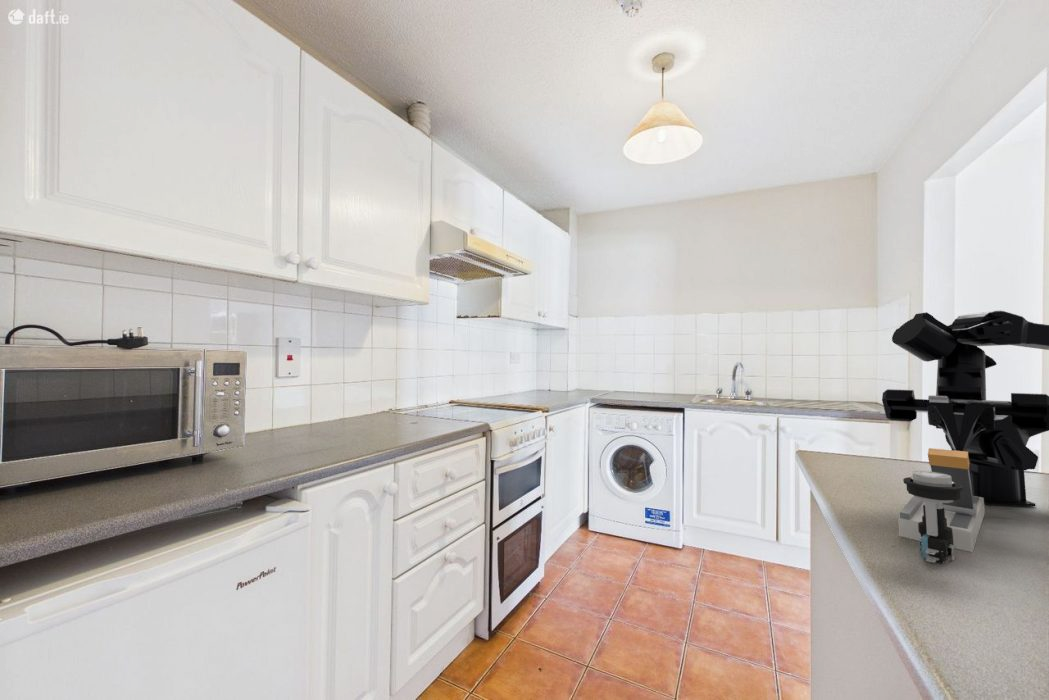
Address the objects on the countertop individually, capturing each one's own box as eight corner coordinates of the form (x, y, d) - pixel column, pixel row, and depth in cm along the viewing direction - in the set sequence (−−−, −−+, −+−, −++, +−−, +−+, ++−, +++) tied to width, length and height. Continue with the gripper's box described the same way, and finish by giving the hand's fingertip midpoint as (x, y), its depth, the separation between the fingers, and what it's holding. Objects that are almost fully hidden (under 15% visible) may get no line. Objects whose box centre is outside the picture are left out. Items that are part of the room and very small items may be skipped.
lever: (937, 503, 62) (927, 447, 60) (976, 510, 59) (969, 451, 57) (935, 511, 61) (926, 454, 59) (976, 518, 58) (968, 458, 56)
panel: (923, 503, 72) (922, 483, 72) (984, 513, 66) (983, 492, 66) (899, 536, 59) (897, 511, 59) (972, 552, 54) (970, 525, 54)
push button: (961, 574, 48) (955, 484, 49) (900, 558, 52) (894, 476, 53) (971, 557, 52) (965, 474, 53) (913, 543, 56) (908, 467, 57)
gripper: (1046, 409, 69) (1056, 494, 61) (894, 401, 83) (887, 470, 75) (1048, 361, 64) (1059, 448, 56) (886, 362, 77) (876, 432, 70)
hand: (959, 451), depth 64 cm, fingers closed
